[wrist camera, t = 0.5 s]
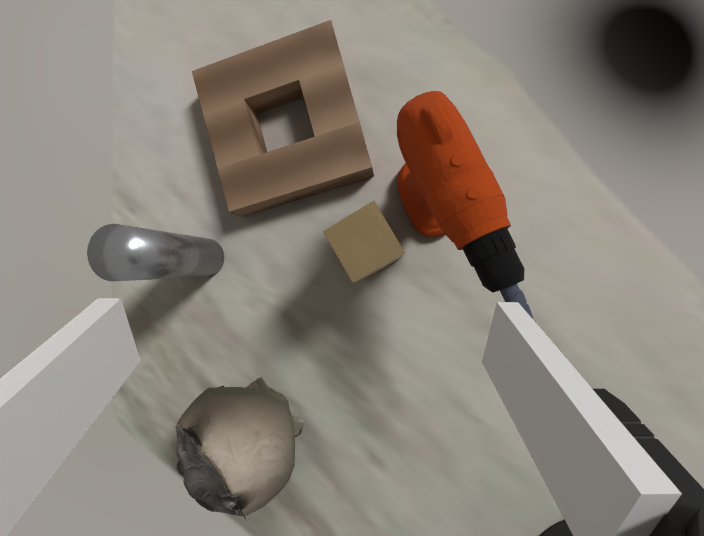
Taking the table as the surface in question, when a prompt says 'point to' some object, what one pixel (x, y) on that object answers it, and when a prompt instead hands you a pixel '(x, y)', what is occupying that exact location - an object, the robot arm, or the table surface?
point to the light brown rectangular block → (364, 242)
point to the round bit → (151, 254)
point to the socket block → (273, 90)
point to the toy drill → (456, 192)
